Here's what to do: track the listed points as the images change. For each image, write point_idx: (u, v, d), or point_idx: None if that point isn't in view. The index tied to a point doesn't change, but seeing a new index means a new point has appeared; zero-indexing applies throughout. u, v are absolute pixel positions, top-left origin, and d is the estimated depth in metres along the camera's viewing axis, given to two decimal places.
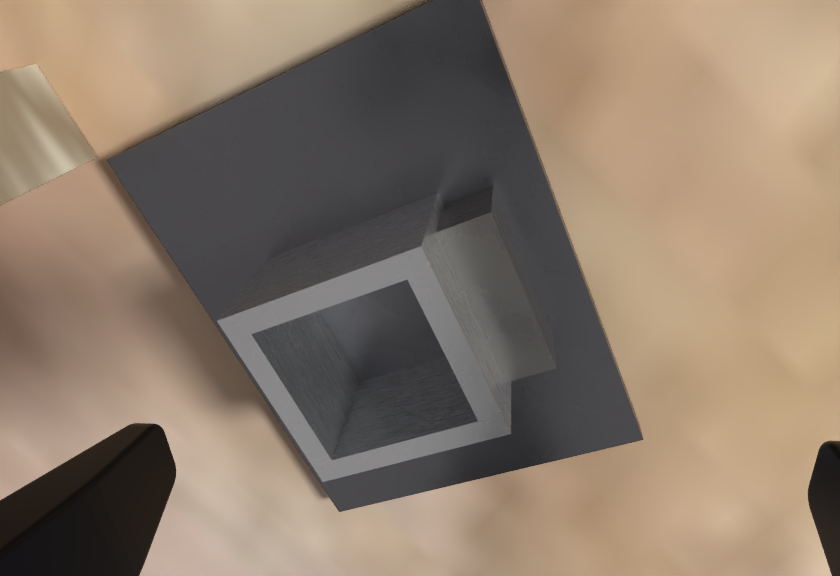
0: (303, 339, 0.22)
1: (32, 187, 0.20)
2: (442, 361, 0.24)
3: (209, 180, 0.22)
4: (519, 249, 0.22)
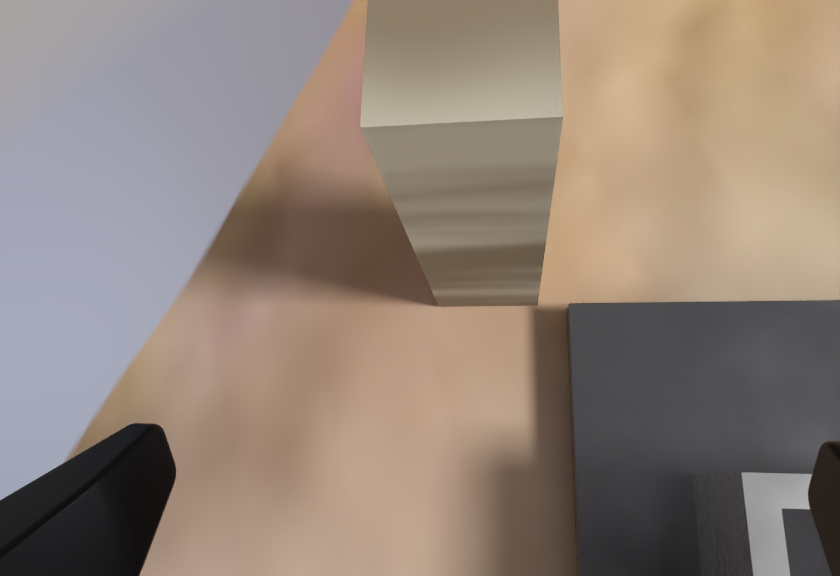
0: None
1: None
2: None
3: (670, 363, 0.21)
4: None
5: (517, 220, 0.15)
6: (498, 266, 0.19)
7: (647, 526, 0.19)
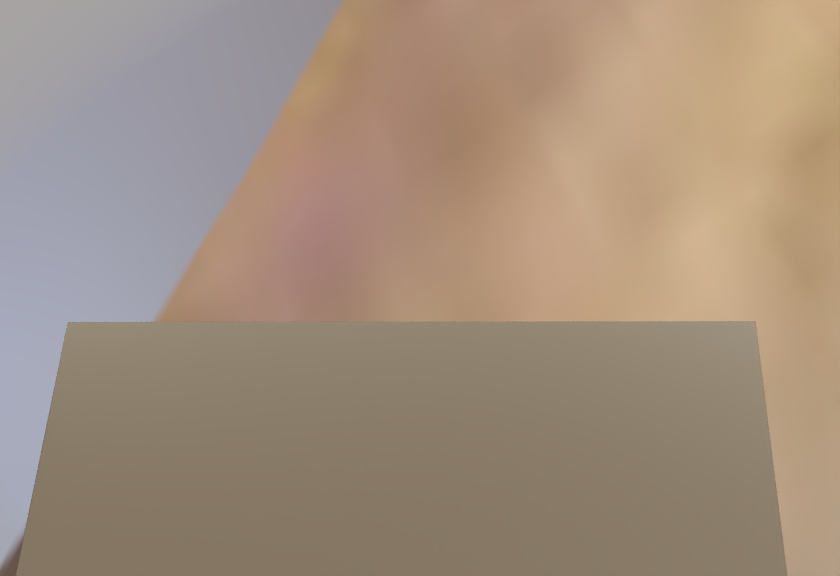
0: None
1: None
2: None
3: None
4: None
5: None
6: None
7: None
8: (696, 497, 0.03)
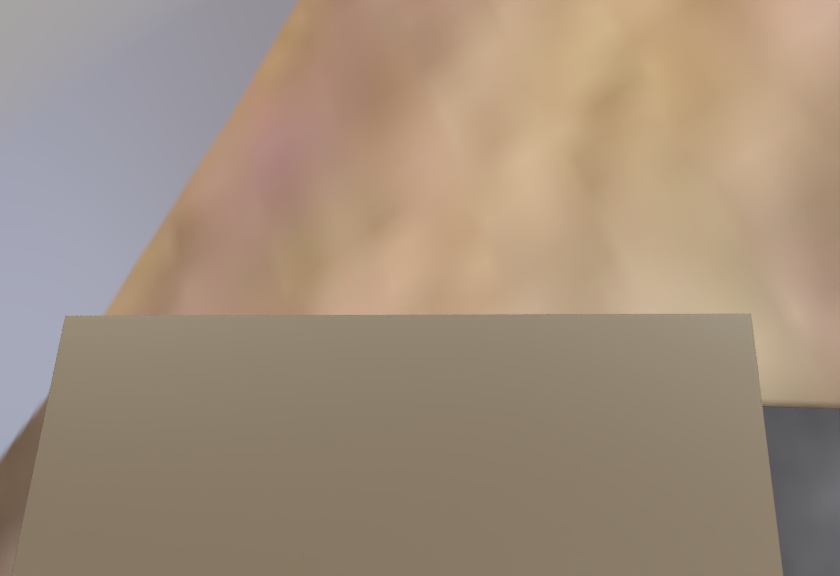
0: None
1: None
2: None
3: None
4: None
5: None
6: None
7: None
8: (694, 488, 0.03)
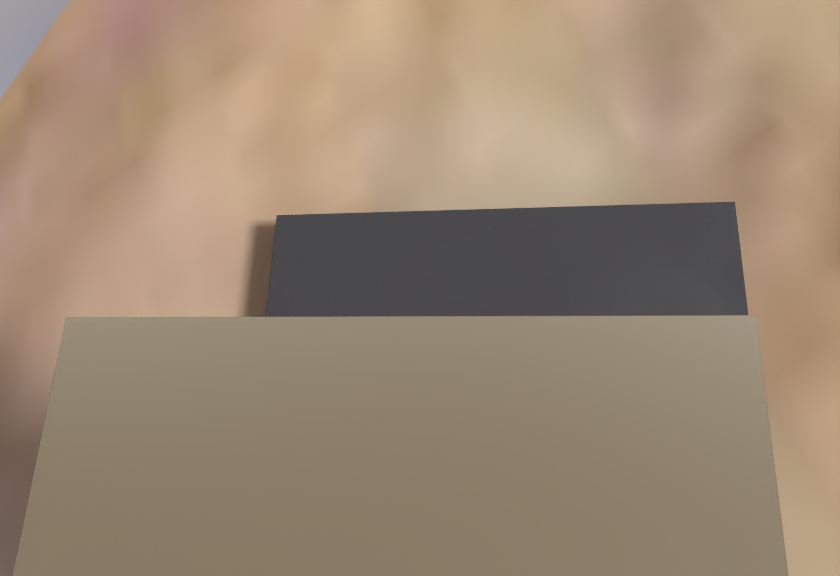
0: None
1: None
2: None
3: (367, 274, 0.19)
4: None
5: None
6: None
7: None
8: (695, 491, 0.03)
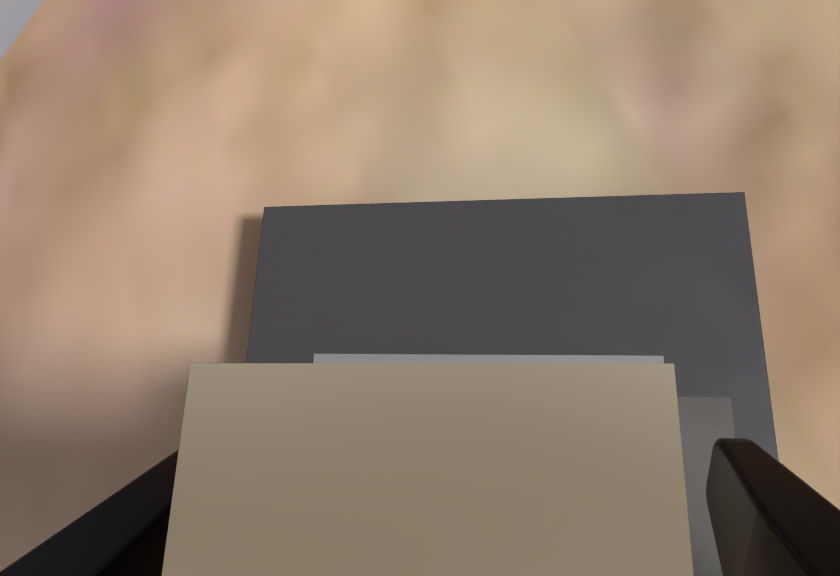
0: None
1: None
2: None
3: (358, 268, 0.19)
4: None
5: None
6: None
7: None
8: (633, 483, 0.04)
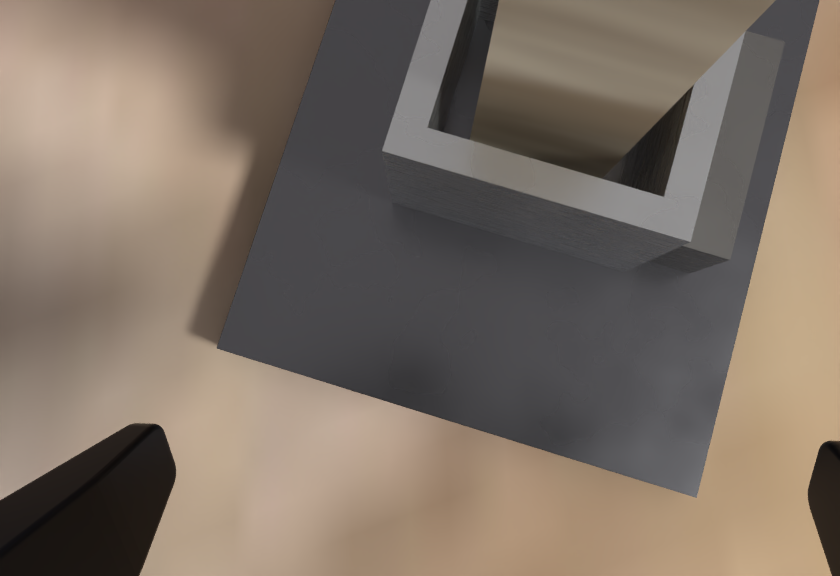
0: (465, 40, 0.17)
1: (622, 156, 0.15)
2: None
3: None
4: None
5: (660, 61, 0.10)
6: (577, 129, 0.14)
7: (400, 21, 0.19)
8: None
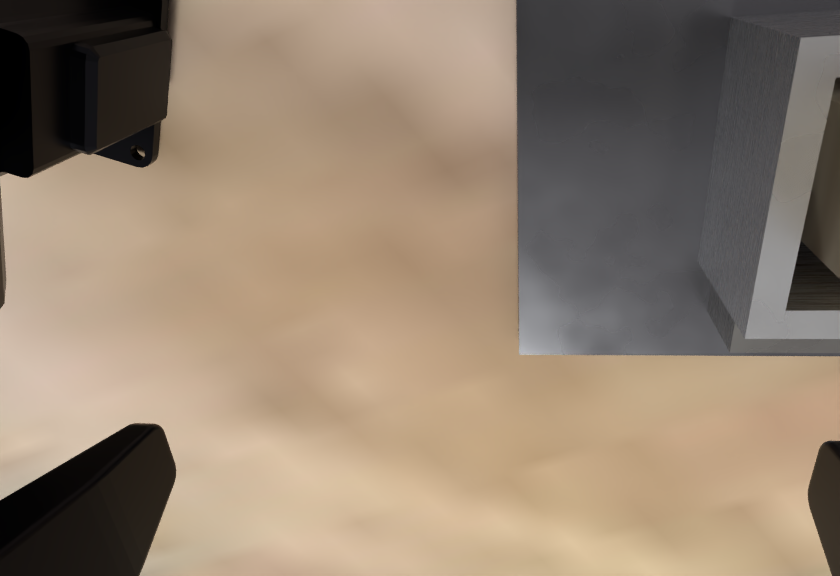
0: None
1: (822, 260, 0.15)
2: None
3: None
4: None
5: None
6: None
7: None
8: None
